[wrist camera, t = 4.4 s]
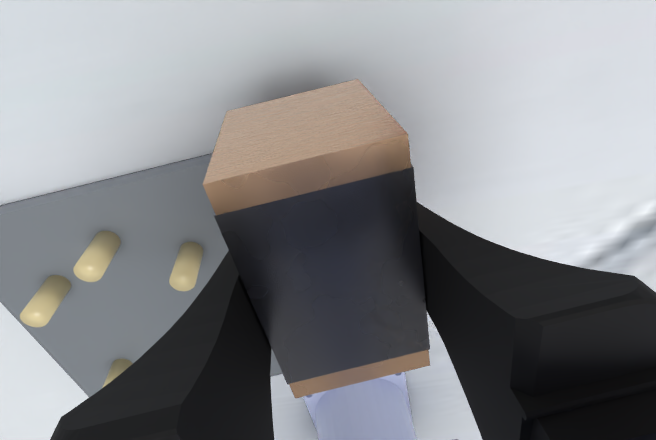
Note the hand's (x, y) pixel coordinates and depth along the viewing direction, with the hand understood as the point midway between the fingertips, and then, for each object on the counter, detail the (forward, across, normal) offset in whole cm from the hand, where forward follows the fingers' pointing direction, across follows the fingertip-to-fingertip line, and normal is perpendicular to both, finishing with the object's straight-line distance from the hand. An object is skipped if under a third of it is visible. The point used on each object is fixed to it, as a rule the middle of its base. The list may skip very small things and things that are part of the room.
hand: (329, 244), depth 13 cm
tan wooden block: (+3, 0, 0) cm, 3 cm away
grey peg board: (+8, +11, +7) cm, 15 cm away
